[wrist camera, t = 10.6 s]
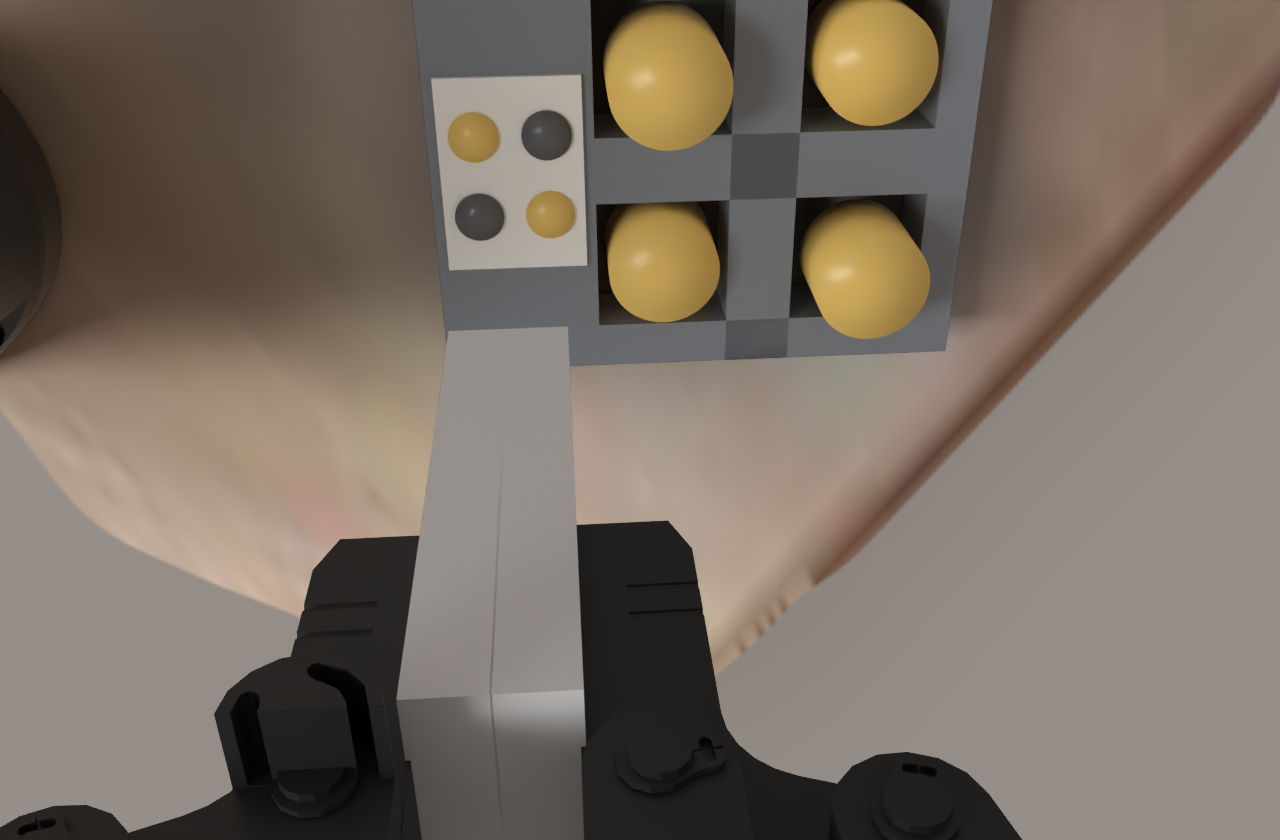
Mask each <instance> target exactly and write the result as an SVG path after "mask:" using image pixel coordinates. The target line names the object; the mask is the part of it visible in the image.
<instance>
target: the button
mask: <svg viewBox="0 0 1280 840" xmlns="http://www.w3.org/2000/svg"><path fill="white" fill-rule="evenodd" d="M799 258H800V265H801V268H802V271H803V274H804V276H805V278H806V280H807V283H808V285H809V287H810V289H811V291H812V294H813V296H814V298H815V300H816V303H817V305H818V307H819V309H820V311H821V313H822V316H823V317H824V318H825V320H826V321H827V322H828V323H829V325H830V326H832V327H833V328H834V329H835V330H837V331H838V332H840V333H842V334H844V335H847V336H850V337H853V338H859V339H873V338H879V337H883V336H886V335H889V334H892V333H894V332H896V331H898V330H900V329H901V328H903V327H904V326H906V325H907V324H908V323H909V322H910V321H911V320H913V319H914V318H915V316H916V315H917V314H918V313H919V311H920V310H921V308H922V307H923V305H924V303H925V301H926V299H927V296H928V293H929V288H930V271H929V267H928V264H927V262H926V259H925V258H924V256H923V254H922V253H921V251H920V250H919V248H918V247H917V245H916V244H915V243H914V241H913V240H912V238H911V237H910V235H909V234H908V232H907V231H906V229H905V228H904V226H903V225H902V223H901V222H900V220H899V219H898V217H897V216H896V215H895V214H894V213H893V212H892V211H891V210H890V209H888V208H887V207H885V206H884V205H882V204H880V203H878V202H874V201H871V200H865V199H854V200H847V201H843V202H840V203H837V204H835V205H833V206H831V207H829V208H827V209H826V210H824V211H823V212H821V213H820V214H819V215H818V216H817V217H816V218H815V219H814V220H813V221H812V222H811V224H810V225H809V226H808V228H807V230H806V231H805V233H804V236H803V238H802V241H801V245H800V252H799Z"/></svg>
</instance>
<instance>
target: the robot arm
mask: <svg viewBox="0 0 1280 840" xmlns="http://www.w3.org/2000/svg"><path fill="white" fill-rule="evenodd" d="M60 246H61V221H60V212H59V205H58V200H57V195H56V191H55V187H54V184H53V181H52V177H51V174H50V172H49V169H48V166H47V164H46V161H45V159H44V157H43V155H42V153H41V151H40V148H39V146H38V144H37V143H36V141H35V139H34V137H33V135H32V134H31V132H30V130H29V129H28V127H27V126H26V124H25V123H24V121H23V119H22V118H21V117H20V115H19V114H18V112H17V111H16V110H15V108H14V107H13V106H12V104H11V103H10V102H9V101H8V99H7V98H6V97H5V96H4V95H3V93H2V92H1V91H0V354H1V353H2V352H3V351H4V350H5V349H6V348H7V347H8V346H9V345H10V344H11V343H12V342H13V341H14V340H15V338H16V337H17V336H18V335H19V333H20V332H21V331H22V330H23V329H24V327H25V326H26V325H27V324H28V322H29V321H30V320H31V319H32V317H33V316H34V315H35V314H36V312H37V311H38V309H39V308H40V306H41V305H42V303H43V302H44V300H45V298H46V296H47V294H48V292H49V290H50V287H51V285H52V282H53V280H54V276H55V273H56V270H57V265H58V261H59V255H60ZM214 716H215V720H216V723H217V727H218V732H219V736H220V739H221V743H222V747H223V751H224V755H225V759H226V763H227V767H228V771H229V775H230V779H231V783H232V787H233V789H232V791H231V792H230V793H228V794H226V795H225V796H223V797H221V798H220V799H218V800H216V801H215V802H213V803H212V804H210V805H208V806H206V807H204V808H201V809H199V810H196V811H194V812H191V813H189V814H186V815H184V816H181V817H178V818H175V819H172V820H169V821H165V822H162V823H159V824H155V825H152V826H149V827H146V828H143V829H140V830H136V831H133V832H130V833H128V832H127V830H126V829H125V828H124V827H123V826H122V825H121V824H120V823H119V821H118V820H117V819H116V818H115V817H114V816H113V815H112V814H111V813H108V812H105V811H102V810H99V809H96V808H93V807H90V806H88V805H71V806H52V807H49V808H46V809H43V810H39V811H36V812H33V813H29V814H26V815H23V816H19V817H18V818H16V819H14V820H13V821H11V822H9V823H7V824H6V825H4V826H2V827H0V840H1022V839H1021V838H1020V836H1019V835H1018V833H1017V832H1016V831H1015V829H1014V828H1013V827H1012V825H1011V824H1010V822H1009V821H1008V820H1007V818H1006V817H1005V816H1004V814H1003V813H1002V811H1001V810H1000V809H999V807H998V806H997V805H996V803H995V802H994V800H993V799H992V798H991V796H990V795H989V794H988V793H987V792H986V791H985V790H984V789H983V788H982V787H981V786H980V785H979V784H978V783H977V782H976V781H975V780H974V779H973V778H972V777H971V776H970V775H969V774H968V773H966V772H964V771H962V770H961V769H959V768H956V767H955V766H952V765H951V764H949V763H947V762H945V761H943V760H940V759H939V758H935V757H930V756H925V755H920V754H915V753H909V752H902V753H892V754H880V755H876V756H874V757H871V758H869V759H867V760H865V761H863V762H860V763H858V764H856V765H854V766H852V767H851V768H850V770H849V771H848V772H847V773H846V774H845V775H844V777H843V778H842V779H841V780H840V781H839V782H838V784H836V783H831V782H826V781H821V780H816V779H811V778H807V777H801V776H797V775H794V774H791V773H787V772H784V771H780V770H778V769H775V768H773V767H771V766H769V765H767V764H765V763H763V762H761V761H759V760H757V759H755V758H754V757H753V756H752V755H750V754H749V753H748V752H747V751H746V750H744V749H743V748H742V747H741V746H739V745H738V743H737V742H736V741H735V739H734V738H733V737H732V735H731V734H730V732H729V731H728V730H727V728H726V725H725V722H724V719H723V717H722V714H721V709H720V704H719V698H718V692H717V687H716V681H715V675H714V670H713V664H712V658H711V653H710V647H709V642H708V636H707V630H706V625H705V619H704V615H703V608H702V602H701V596H700V591H699V588H698V579H697V574H696V568H695V562H694V557H693V551H692V548H691V547H690V546H689V544H688V543H687V542H686V541H685V540H684V539H683V538H682V536H681V535H680V534H679V533H678V532H677V531H676V529H675V528H674V527H673V526H672V525H671V524H670V523H669V521H651V522H630V523H609V524H588V525H577V524H576V502H575V479H574V456H573V434H572V411H571V388H570V366H569V343H568V326H567V327H541V328H515V329H489V330H463V331H448V338H447V346H446V353H445V360H444V367H443V374H442V381H441V388H440V395H439V402H438V409H437V416H436V423H435V430H434V437H433V444H432V451H431V459H430V466H429V473H428V480H427V487H426V494H425V501H424V508H423V515H422V522H421V529H420V536H401V537H380V538H359V539H340V540H339V541H338V542H337V544H336V545H335V546H334V547H333V548H332V549H331V550H330V552H329V553H328V554H327V555H326V556H325V557H324V558H323V559H322V561H321V562H320V563H319V564H318V565H317V566H316V567H315V568H314V570H313V572H312V576H311V580H310V584H309V587H308V591H307V595H306V599H305V603H304V611H302V615H301V619H300V623H299V627H298V631H297V639H296V640H295V642H294V646H293V650H292V654H291V657H287V658H281V659H279V660H276V661H274V662H272V663H270V664H267V665H265V666H263V667H261V668H258V669H256V670H254V671H252V672H250V673H249V674H248V675H247V676H245V677H244V678H243V679H242V680H240V681H239V682H238V683H237V684H236V685H234V686H233V687H232V688H231V689H230V690H228V691H227V693H226V695H225V696H224V698H223V700H222V702H221V703H220V705H219V707H218V708H217V710H216V712H215V714H214Z"/></svg>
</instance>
